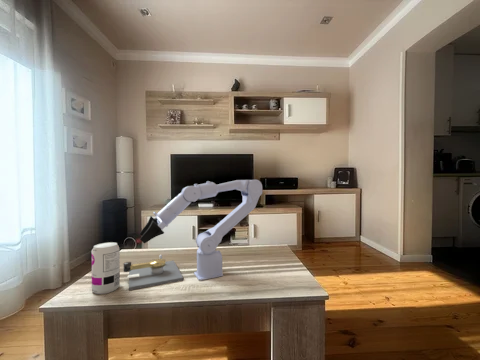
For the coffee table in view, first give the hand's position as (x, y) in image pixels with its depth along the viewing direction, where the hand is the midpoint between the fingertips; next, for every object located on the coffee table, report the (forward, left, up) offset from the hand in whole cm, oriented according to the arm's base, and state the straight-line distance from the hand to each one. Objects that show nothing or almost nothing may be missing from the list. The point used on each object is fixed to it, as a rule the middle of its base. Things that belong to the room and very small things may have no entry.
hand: (141, 238), depth 82 cm
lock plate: (-5, -8, -16) cm, 19 cm away
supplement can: (+11, -2, -17) cm, 20 cm away
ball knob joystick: (-1, -7, -13) cm, 15 cm away
